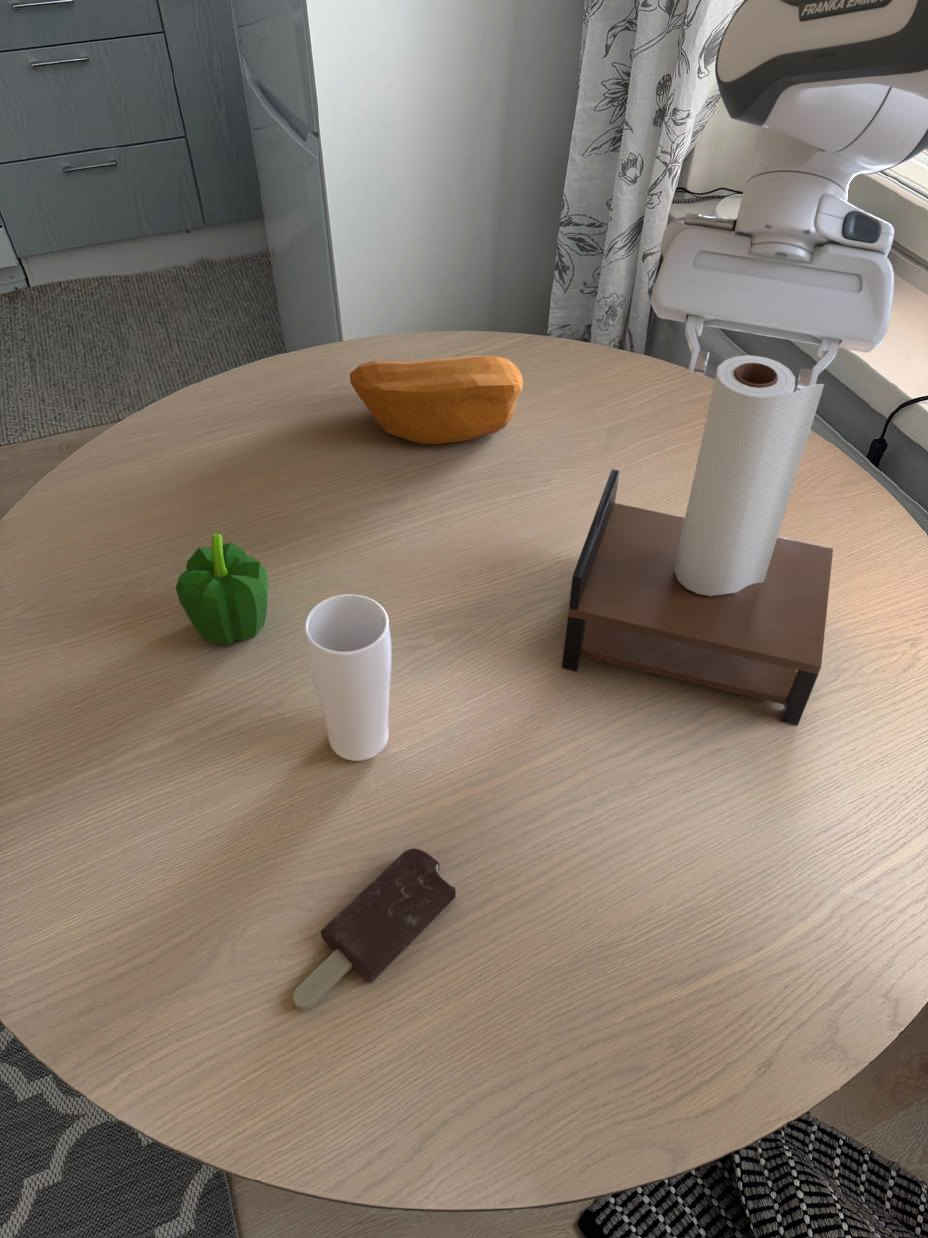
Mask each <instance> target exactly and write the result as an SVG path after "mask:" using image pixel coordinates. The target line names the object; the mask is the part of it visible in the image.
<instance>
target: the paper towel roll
mask: <svg viewBox="0 0 928 1238" xmlns="http://www.w3.org/2000/svg"><path fill="white" fill-rule="evenodd" d="M824 387H825V383H816V384H815V385H811V386H807V387H804V388H802V389H800V390H798V391H796V392H795V389H796V376H795V375H794V373H793V372H792V370H791V368H789V367H787V366H786V365H785V364H783V363H782V362H779V361H778V360H775V359H771V358H768V357H766V356H758V355H753V354H752V355H751V354H749V355H736V356H733V357H730V358H727V359H724V360H723V362H721V363H720V364H719V365H718V366H717V368H716V372H715V378H714V382H713V387H712V391H711V394H710V395H711V396H710V401H709V405H708V410H707V414H706V420H705V424H704V427H703V433H702V437H701V442H700V446H699V452H698V455H697V460H696V465H695V470H694V475H693V480H692V484H691V487H690V493H689V497H688V502H687V506H686V507H687V508H686V511H685V516H684V517H685V521H684V525H683V530H682V534H681V539H680V544H679V548H678V553H677V558H676V562H675V569H674V572H675V574H676V577H677V579H678V581H679V582H680V583H681V584H682V585H683V586H684V587H685V588H687V589H689V590H691V591H693V592H695V593H697V594H702V595H707V596H715V595H723V594H729V593H736V592H738V591H740V590H741V589H743V588H745V587H746V586H749V585H752V584H755V583H763V582H764V579H765V576H766V573H767V569H768V566H769V563H770V560H771V556H772V553H773V550H774V547H775V543H776V540H777V537H779V534H780V530H781V527H782V524H783V520H784V517H785V514H786V510H787V508H788V504H789V500H790V497H791V495H792V492H793V488H794V485H795V481H796V478H797V474H798V471H799V468H800V465H801V461H802V459H803V456H804V452H805V449H806V445H807V442H808V438H809V436H810V433H811V429H812V425H813V423H814V419H815V416H816V412H817V410H818V407H819V403H820V400H821V397H822V394H823V390H824Z"/></svg>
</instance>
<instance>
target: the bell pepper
mask: <svg viewBox="0 0 928 1238" xmlns="http://www.w3.org/2000/svg"><path fill="white" fill-rule="evenodd" d="M175 591H176V594H177V597H178V601H179V604H180V605H181V608H182V609H183V611H184V612H185V614H186V616H187V618H188V619H189V621H190V622H191V625H192V626H193V628H194V629H195V630H196V631H197V633H198V634H199V636H201V638H202V639H204V640H206V641H209V642H211V643H214V644H216V645H219V646H229V645H232V644H233V643H234V642H235V641H242V642H243V641H247V640H250V639H254V638H256V635H257V634H258V633H259V632H260V631H261V629H263V627H264V626H265V624H266V623H265V622H266V617H267V609H268V601H269V599H268V598H269V581H268V574H267V569H266V568H265V566H264V565H263V564H262V563H261V561H259V560H258V559H257V558H256V557H254V556H249V554H248V553H247V552H246V551H245V550H244V549H243V548H241V547H240V546H238V545H237V544H235V543H234V542H233V541H230V542H228V543H225V544H224V543H223V535H222V534H220V533H213V534H212V535H211V546H210V547H209V546H208V547H200V546H199V547H198V548H197V549H196V550H195V551H194V552H193V553H192V555H190V557H189V558H188V560H187V562H186V565H185V570H184V571H183V572H181V573H180V574H179V575H178V579H177V581H176V585H175Z"/></svg>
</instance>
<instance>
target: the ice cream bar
mask: <svg viewBox="0 0 928 1238" xmlns="http://www.w3.org/2000/svg"><path fill="white" fill-rule="evenodd" d="M439 873H440V863H439V861H438V860H436V859H435V858H434V857H433V856H431V855H430V854H429V853H427V852H426V851H424V850H421V849H420V848H416V847H415V848H410V849H409V848H408V849H406V850H404V851H403V852H402V853H401V854H400V855H399V856H398V857H396V859H395V860H394V861H392V863H390V864H389V865H388V866H387V867H386V868H385V869H384V870H383V871H382V872H381V873H380V874H378V876H377V877H376V878H375V879H373V881H372V882H370V883H369V884H368V885H367V886H366V887H365V888H364V889H363V890H362V891H361V892H360V893H358V895H357V896H356V897H355V898H354V899H353V900H351V901H350V902H349V903H348V904H347V905H346V906H345V907H344V908H343V909H342V910H341V911H340V912H339V913H338V914H337V915H335V916H334V918H332V919H331V920H330V921H329V922H328V923H327V924H326V925H325V926H324V927H323V928H322V929H321V930H320V936H321V939H322V940H323V941H324V942H325V943H326V945H328V946H329V947H330V948H331V949H332V950H333V952H332V953H331V954H330V955H329V956H327V958H326V959H325V960H324V961H323V962H322V963H320V964H319V966H317V968H316V969H314V970H313V972H311V973H310V974H309V975H308V976H307V978H305V979H304V980H303V981H302V982H301V983H300V984H299V985H298V986H297V987H296V988H295V990H294V991H293V994H292V1000H293V1004H294V1005H295V1007H296V1008H298V1009H299V1010H301V1011H302V1010H303V1011H305V1010H310V1009H311V1008H313V1007H314V1006H315V1005H316V1004H317V1003H318V1002H319V1001H320V1000H322V998H323V997H324V996H325V995H326V994H327V993H328V992H330V991H331V989H332V988H333V987H334V986H335V985H336V984H337V983H338V982H339V981H340V980H341V979H342V978H344V976H345V975H346V974H347V973H348V972H350V970H351V969H353V970H354V971H355V972H356V973H357V974H358V975H359V976H360V977H362V978H363V979H364V980H366V981H367V982H369V983H370V984H372V983H373V982H374V981H376V979H377V978H378V977H379V976H380V975H381V974H382V973H383V972H384V971H385V970H386V969H387V968H388V967H389V966H390V965H391V964H392V963H393V962H394V961H395V960H396V959H397V958H398V957H399V956H400V955H401V954H402V953H403V952H404V951H405V950H406V949H407V948H408V946H410V945H411V944H412V942H413V941H414V940H416V939H417V937H419V935H420V934H421V933H422V932H423V931H424V930H425V929H426V928H427V927H428V926H429V925H430V924H431V923H432V922H433V921H434V920H435V919H436V918H437V917H438V916H439V915H440V914H441V913H442V912H443V911H444V910H445V909H446V908H447V907H448V906H449V905H450V904H451V903H452V902H453V901H454V899H456V897H457V896H456V895H457V893H456V892H457V889H456V886H453V885H451V884H450V883H448V882H447V881H446V880H445V879H444V878H442V876H440V875H439Z"/></svg>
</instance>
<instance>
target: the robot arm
mask: <svg viewBox="0 0 928 1238" xmlns="http://www.w3.org/2000/svg"><path fill="white" fill-rule="evenodd" d="M714 74H715V79H716V82H717V88H718V91H719V94H720V97H721V100H722V102H723V104H724V107H725V109H726V111H727V113H728V115H729V117H730V119H733V120H735V121H739V122H743V123H746V124H749V125H753V126H756V127H757V133H756V137H755V159H754V164H753V167H752V169H751V171H750V173H749V174H748V176H747V178H746V180H745V184H744V186H743V190H742V191H743V192H742V195H741V200H740V204H739V208H738V212H737V216H736V218H734V219H733V218H729V217H728V218H727V217H719V216H706V215H704V216H703V215H701V214H699V213H693V212H691V213H685V215H684V216H679V217H677V218H675V219H673V220H671V221H670V222H669V223H668V224H667V226H666V227H665V229H664V232H663V236H662V240H661V243H660V253H661V257H662V258H663V259H662V260H663V261H662V262H661V265H660V269H659V271H658V274H657V277H656V279H655V283H654V286H653V290H652V294H651V307H652V310H653V312H654V313H655V316H657V317H658V318H659V319H662V320H668V321H669V320H670V321H675V322H679V323H680V322H681V323H685V328H684V329H685V330H684V334H685V338H686V341H687V344H688V348H689V351H690V354H691V357H690V361H689V365H688V372H687V373H688V374H694V375H699V376H705V375H706V371H707V365H708V363H709V358H710V352H709V351H705V350H701V347H700V344H699V340H698V337H701V336H702V331H703V327H712V328H716V329H723V330H728V331H736V332H740V333H746V334H747V333H748V334H751V335H759V336H765V337H770V338H777V339H783V340H788V341H795V342H801V343H807V344H813V345H818V346H819V348H818V352H817V356H818V358H820V359H819V360H818V362H816V364H814V365H813V367H812V368H811V369H809V368H804V367H803V368H801V369H800V371H799V373H798V378H797V383H796V384H795V389H794V392H796V391H798V390H800V389H802V388H804V387H807V386H811V385H815V384H817V381H818V377H819V375H820V374H822V372H824V370H825V369H826V368H827V367H828V366H829V365H830V364H831V363H832V362H833V360H834V359H835V358H836V356H837V354H838V350H839V349H842V350H849V351H855V352H860V353H870V352H871V351H873V350H875V349H876V348H877V347H878V346H880V345H881V344H882V343H883V341H884V340H885V338H886V336H887V333H888V329H889V324H890V320H891V315H892V309H893V299H894V291H895V289H894V288H895V272H894V268H893V264H892V262H891V261H890V259H889V258H888V255H889V253H890V251H891V249H892V246H893V242H894V238H895V228H894V226H893V225H892V224H891V223H889V222H888V221H885V220H883V219H881V218H879V217H877V216H875V215H873V214H871V213H869V212H867V211H865V210H863V209H861V208H859V207H857V206H855V205H853V204H851V203H850V202H848V194H849V193H848V190H849V185H850V182H851V181H852V180H853V178H854V177H856V176H857V175H860V174H862V175H867V176H868V175H873V174H878V173H881V172H885V171H886V170H889V169H892V168H895V167H897V166H900V165H902V164H904V163H906V162H908V161H910V160H912V159H913V158H915V157H917V156H919V155H920V154H921V153H923V152H924V151H926V149H928V0H744V1H742V2H741V3H740V5H739V6H738V7H737V9H736V10H735V12H734V13H733V15H732V17H731V18H730V20H729V22H728V24H727V25H726V27H725V30H724V32H723V35H722V36H721V39H720V42H719V44H718V48H717V51H716V56H715V65H714Z"/></svg>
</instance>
